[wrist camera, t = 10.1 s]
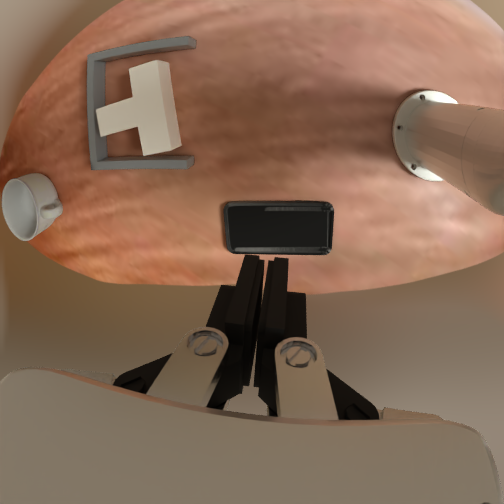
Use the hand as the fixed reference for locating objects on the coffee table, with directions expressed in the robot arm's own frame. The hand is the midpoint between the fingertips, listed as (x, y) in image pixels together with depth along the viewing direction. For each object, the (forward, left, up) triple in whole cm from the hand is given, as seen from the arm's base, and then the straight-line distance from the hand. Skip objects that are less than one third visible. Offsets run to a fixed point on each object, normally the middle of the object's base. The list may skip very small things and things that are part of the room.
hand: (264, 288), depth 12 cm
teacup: (+40, +7, -29) cm, 50 cm away
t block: (+20, -6, -29) cm, 36 cm away
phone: (0, +10, -30) cm, 31 cm away
